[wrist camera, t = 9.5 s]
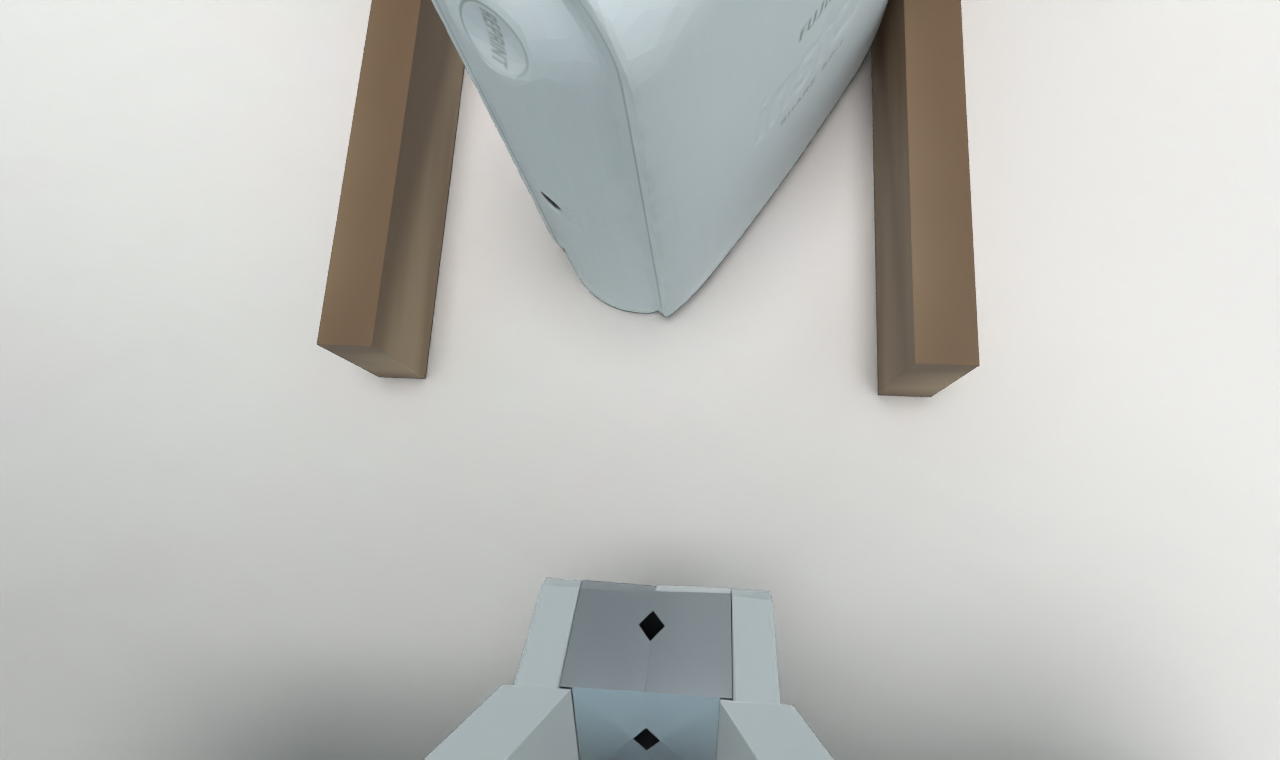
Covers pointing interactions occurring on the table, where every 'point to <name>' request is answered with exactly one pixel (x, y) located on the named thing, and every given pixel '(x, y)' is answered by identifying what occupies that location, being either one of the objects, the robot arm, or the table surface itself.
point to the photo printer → (657, 120)
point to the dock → (421, 168)
